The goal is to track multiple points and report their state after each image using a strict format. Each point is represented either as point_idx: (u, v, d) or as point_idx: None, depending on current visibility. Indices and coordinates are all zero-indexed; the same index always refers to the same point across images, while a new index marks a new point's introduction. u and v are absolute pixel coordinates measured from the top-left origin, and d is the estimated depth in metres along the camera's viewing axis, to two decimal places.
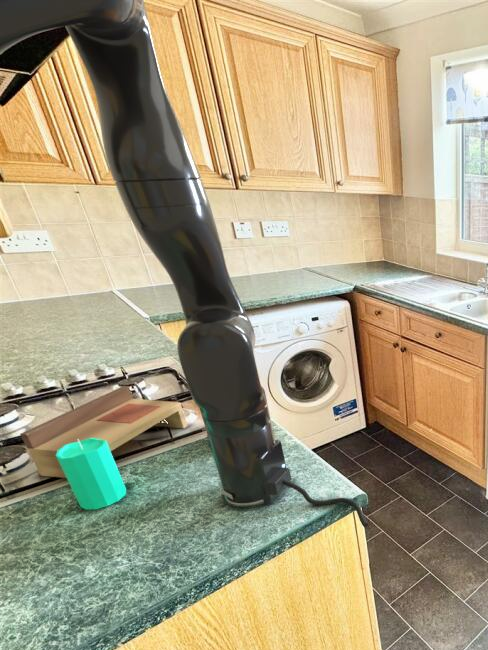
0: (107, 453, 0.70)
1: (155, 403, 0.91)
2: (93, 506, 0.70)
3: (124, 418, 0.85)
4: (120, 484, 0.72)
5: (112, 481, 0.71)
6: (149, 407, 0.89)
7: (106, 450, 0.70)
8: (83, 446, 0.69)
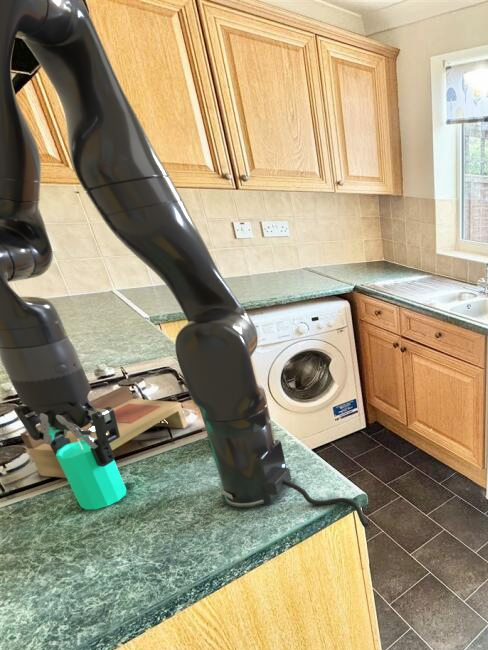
0: None
1: (155, 403, 0.91)
2: (93, 506, 0.70)
3: (124, 418, 0.85)
4: (120, 484, 0.72)
5: (112, 481, 0.71)
6: (149, 407, 0.89)
7: None
8: (83, 446, 0.69)
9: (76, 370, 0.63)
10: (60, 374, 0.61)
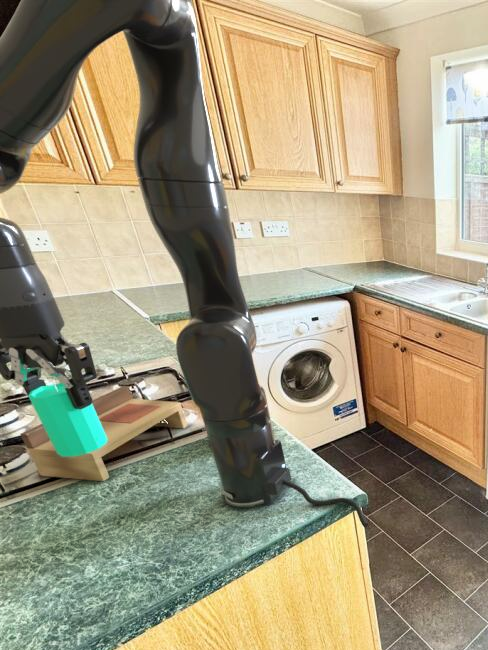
0: None
1: (155, 403, 0.91)
2: (70, 453, 0.65)
3: (124, 418, 0.85)
4: (100, 431, 0.68)
5: (91, 427, 0.66)
6: (149, 407, 0.89)
7: None
8: (59, 388, 0.65)
9: (47, 300, 0.59)
10: (28, 302, 0.57)
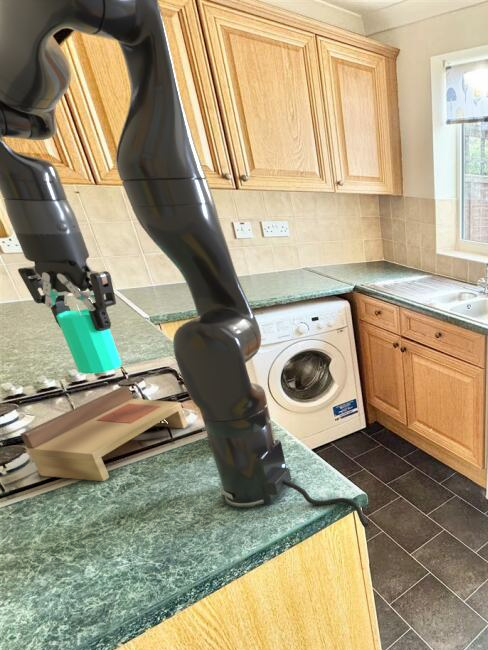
0: None
1: (155, 403, 0.91)
2: (91, 370, 0.75)
3: (124, 418, 0.85)
4: (116, 354, 0.78)
5: (108, 349, 0.76)
6: (149, 407, 0.89)
7: None
8: (81, 313, 0.75)
9: (76, 232, 0.69)
10: (61, 232, 0.67)
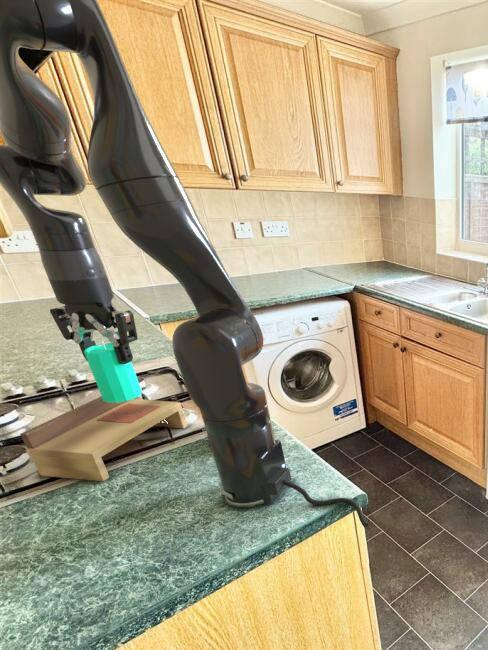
0: None
1: (155, 403, 0.91)
2: (114, 400, 0.82)
3: (124, 418, 0.85)
4: (137, 384, 0.85)
5: (130, 379, 0.83)
6: (149, 407, 0.89)
7: None
8: (106, 348, 0.81)
9: (102, 276, 0.75)
10: (90, 277, 0.73)
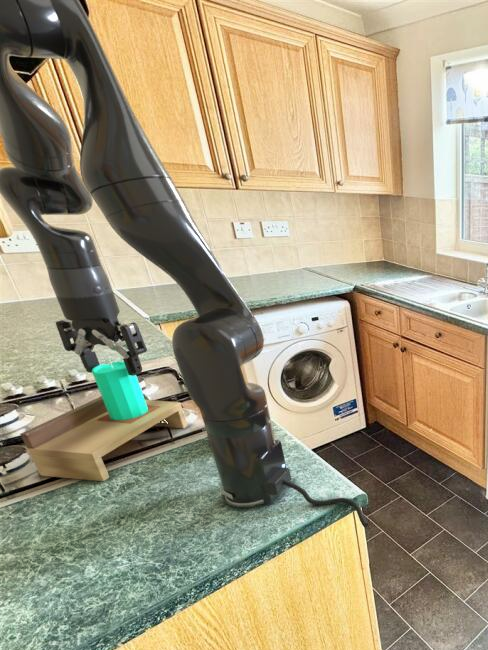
0: None
1: (155, 403, 0.91)
2: (121, 417, 0.84)
3: None
4: (143, 401, 0.86)
5: (137, 397, 0.85)
6: (149, 407, 0.89)
7: None
8: (113, 366, 0.83)
9: (108, 293, 0.77)
10: (96, 294, 0.75)
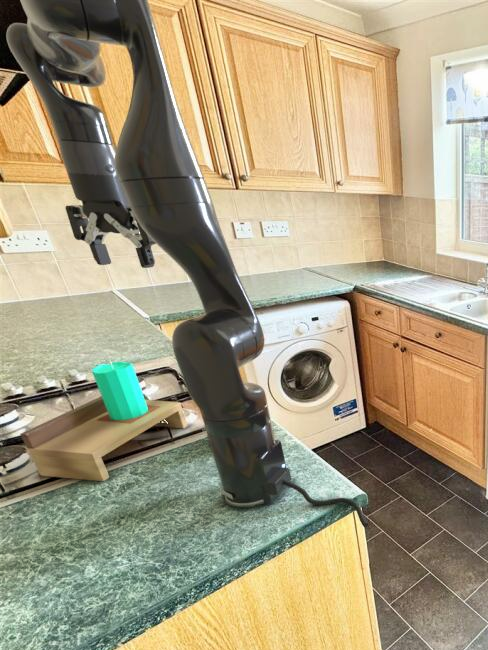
0: (133, 373, 0.84)
1: (155, 403, 0.91)
2: (121, 417, 0.84)
3: None
4: (143, 401, 0.86)
5: (137, 397, 0.85)
6: (149, 407, 0.89)
7: (132, 370, 0.84)
8: (113, 366, 0.83)
9: None
10: (109, 173, 0.73)
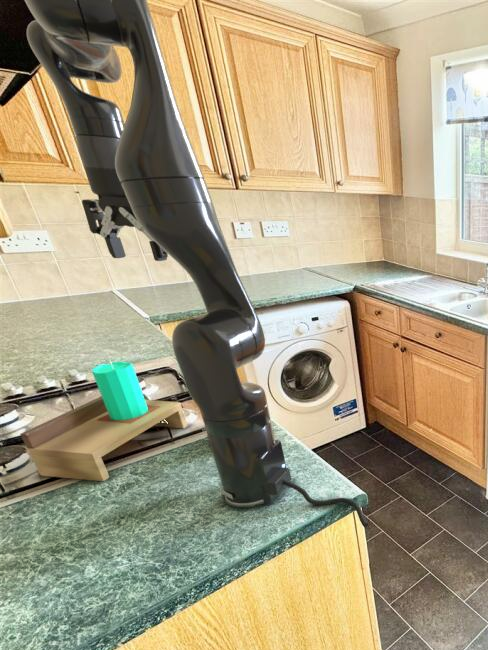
0: (133, 373, 0.84)
1: (155, 403, 0.91)
2: (121, 417, 0.84)
3: None
4: (143, 401, 0.86)
5: (137, 397, 0.85)
6: (149, 407, 0.89)
7: (132, 370, 0.84)
8: (113, 366, 0.83)
9: None
10: None
